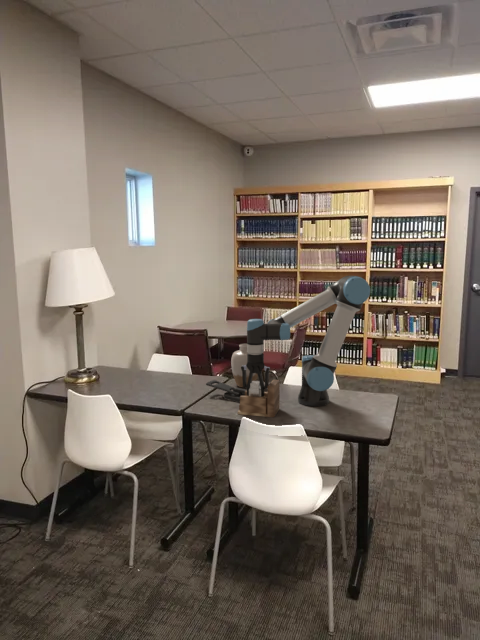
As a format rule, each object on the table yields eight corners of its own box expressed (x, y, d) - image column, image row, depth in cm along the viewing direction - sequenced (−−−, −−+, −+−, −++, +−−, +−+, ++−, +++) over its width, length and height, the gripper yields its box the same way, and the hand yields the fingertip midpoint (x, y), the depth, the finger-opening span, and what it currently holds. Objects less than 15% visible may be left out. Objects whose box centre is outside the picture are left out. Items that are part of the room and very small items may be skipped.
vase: (262, 388, 257) (262, 346, 254) (234, 390, 254) (233, 348, 251) (256, 380, 272) (256, 341, 269) (229, 382, 269) (228, 342, 266)
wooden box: (279, 408, 223) (279, 379, 221) (274, 417, 211) (274, 386, 209) (244, 405, 227) (244, 377, 225) (237, 414, 216) (237, 384, 214)
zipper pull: (214, 379, 251) (254, 386, 238) (214, 391, 252) (254, 399, 238) (204, 383, 244) (245, 390, 230) (204, 395, 245) (245, 403, 231)
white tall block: (260, 406, 221) (260, 381, 219) (258, 409, 217) (258, 383, 215) (252, 405, 222) (252, 380, 220) (250, 408, 218) (250, 383, 216)
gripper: (275, 352, 217) (275, 401, 220) (239, 350, 222) (239, 398, 225) (272, 355, 210) (272, 406, 213) (234, 353, 215) (235, 403, 218)
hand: (255, 402), depth 219 cm, fingers open, 4 cm apart
